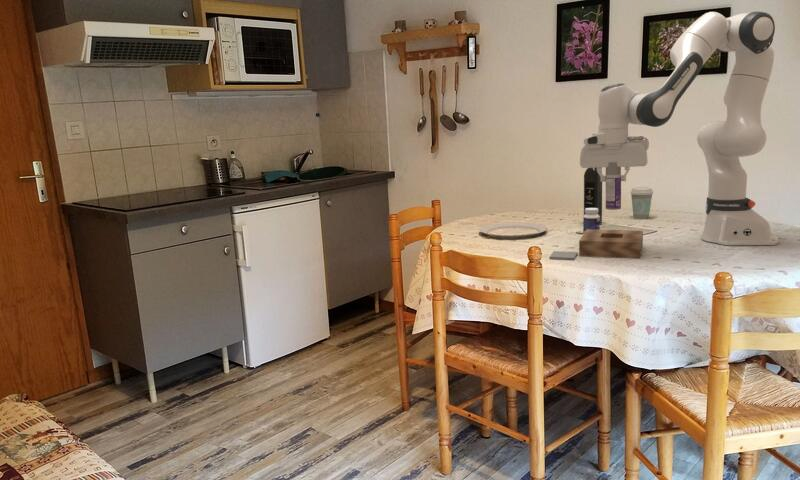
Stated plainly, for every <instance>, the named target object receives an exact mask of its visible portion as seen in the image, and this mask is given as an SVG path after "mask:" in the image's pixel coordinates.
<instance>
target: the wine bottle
mask: <svg viewBox="0 0 800 480" xmlns="http://www.w3.org/2000/svg"><path fill="white" fill-rule="evenodd" d="M601 172H602V173H603V170H601ZM585 208H598V215H599V216H600V225H602V223H603V222H602V221H603V182H601V176H600V175H599V174H598V172H597V168H585V171H584V174H583V216H584V215H585V214H586V213H585Z"/></svg>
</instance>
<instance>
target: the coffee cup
mask: <svg viewBox="0 0 800 480" xmlns="http://www.w3.org/2000/svg"><path fill="white" fill-rule="evenodd" d="M653 194H654V191H653V188H652V187H649V186H648V187H645V186H642V187H640V186H639V187H637V186H636V187H632V188H631V191H630V195H631V196H630V197H631V206H632V207H631V208H632V217H633V218H634V219H636V220H646V219H649V218H650V211H651V207H652V206H651V205H652V199H653V198H652V197H653Z"/></svg>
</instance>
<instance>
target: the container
mask: <svg viewBox="0 0 800 480" xmlns="http://www.w3.org/2000/svg"><path fill="white" fill-rule="evenodd" d="M621 175H622V167H618V166H617V162H609V163H608V167H605V176H606V181H605V210H609V211H610V210H611V211H612V210H613V211H617V210H621V209H622V181H621Z"/></svg>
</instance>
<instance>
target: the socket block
mask: <svg viewBox="0 0 800 480" xmlns="http://www.w3.org/2000/svg"><path fill="white" fill-rule="evenodd" d="M643 236H644V230H633V229H632V230H627V229H626V230H624V229H600V230H595V229H587V230H586V231H585V233H584V234H583V233H582V236H581V238H580V239H579V240H578V248H579V249H578V256H579V257H594V258H596V257H597V258H598V257H599V258H603V257H604V258H621V259H622V258H623V259H641V254H642V249H643V246H644V245H643V244H644V240H643V239H644V237H643Z"/></svg>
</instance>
